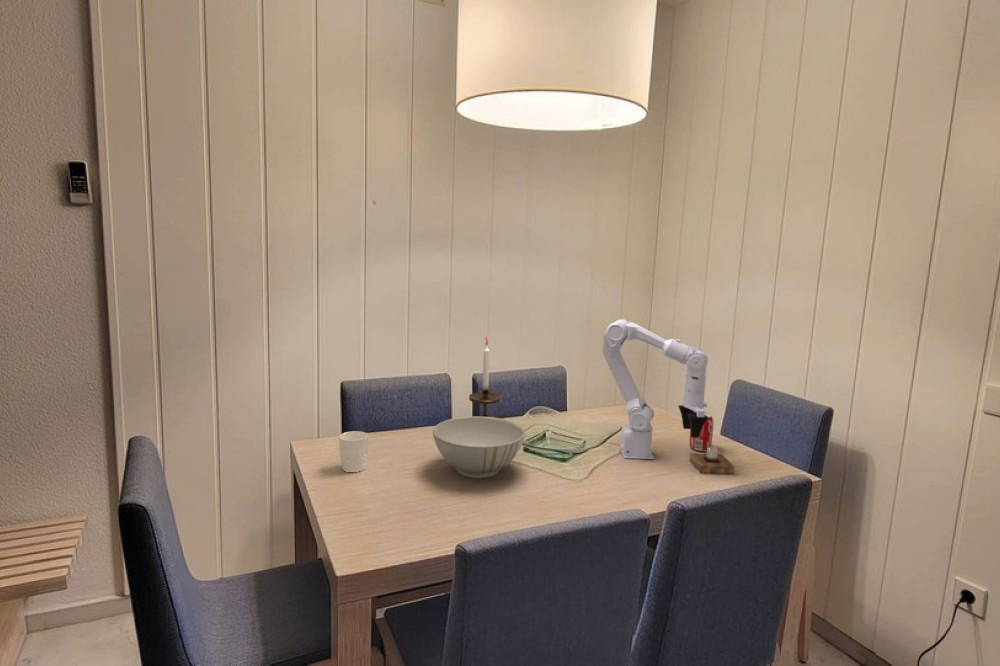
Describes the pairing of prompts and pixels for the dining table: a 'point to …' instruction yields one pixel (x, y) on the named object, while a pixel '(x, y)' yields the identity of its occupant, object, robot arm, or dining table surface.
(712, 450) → the pin
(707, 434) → the soda can
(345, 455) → the white cup
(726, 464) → the hole block
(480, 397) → the candlestick
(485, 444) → the decorative bowl
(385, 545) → the dining table surface
